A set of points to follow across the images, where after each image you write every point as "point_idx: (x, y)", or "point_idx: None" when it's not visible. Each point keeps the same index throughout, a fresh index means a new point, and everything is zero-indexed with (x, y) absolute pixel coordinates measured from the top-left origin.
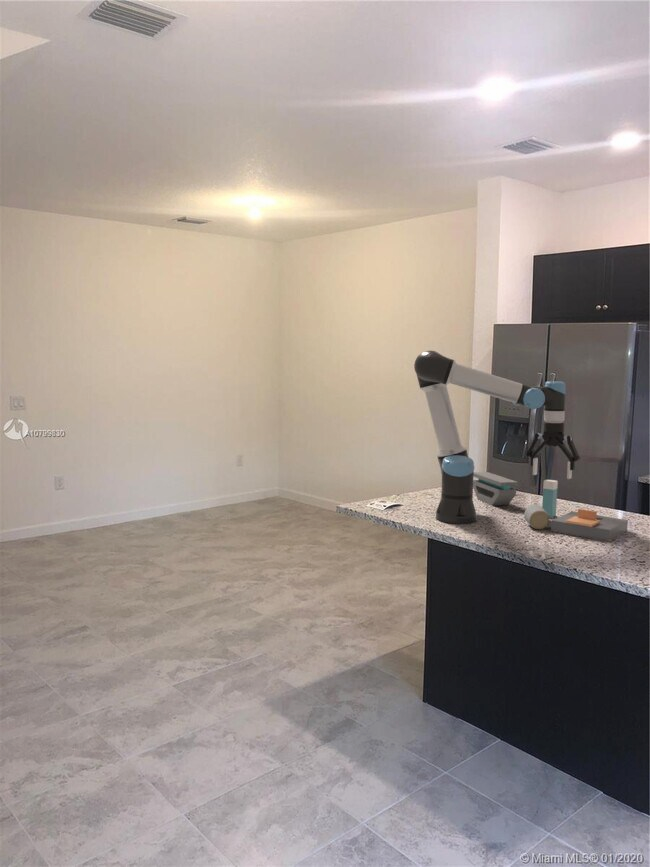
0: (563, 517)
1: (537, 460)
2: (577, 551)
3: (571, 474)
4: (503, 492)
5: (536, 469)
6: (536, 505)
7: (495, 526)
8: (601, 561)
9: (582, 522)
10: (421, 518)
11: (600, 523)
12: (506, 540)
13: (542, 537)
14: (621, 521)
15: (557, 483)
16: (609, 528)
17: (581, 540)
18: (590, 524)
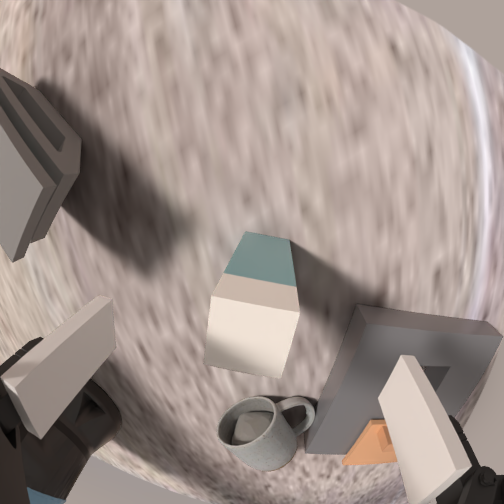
0: (336, 419)
1: (34, 375)
2: (354, 489)
3: (422, 380)
4: (44, 224)
5: (89, 337)
6: (248, 451)
7: (173, 434)
8: (381, 496)
9: (381, 460)
10: None
11: None
12: (235, 489)
13: (291, 466)
14: (484, 365)
15: (298, 304)
16: None
17: None
18: (396, 461)
